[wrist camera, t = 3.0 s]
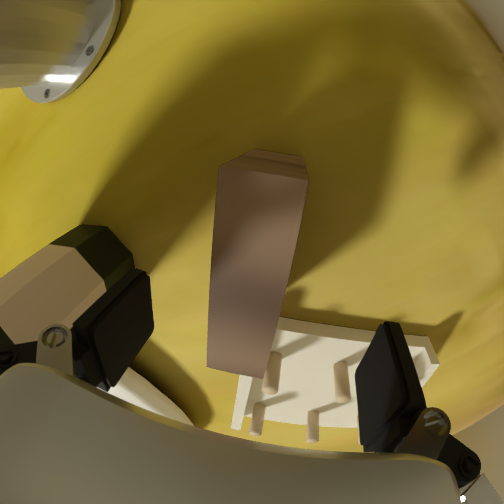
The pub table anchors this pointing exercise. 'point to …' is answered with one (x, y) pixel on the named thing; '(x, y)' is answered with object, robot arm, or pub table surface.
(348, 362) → the rack
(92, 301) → the wine bottle
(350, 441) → the pub table surface
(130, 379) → the plate
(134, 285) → the robot arm
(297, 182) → the walnut board
